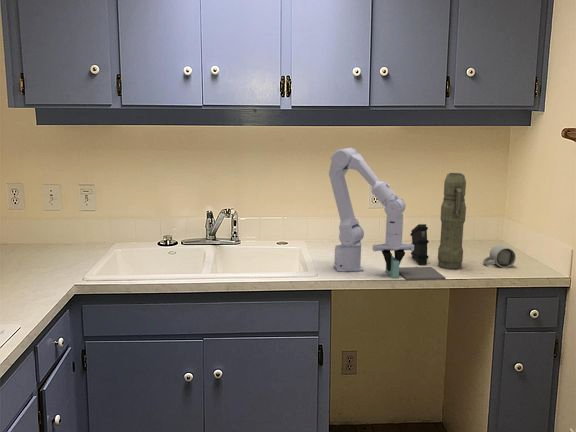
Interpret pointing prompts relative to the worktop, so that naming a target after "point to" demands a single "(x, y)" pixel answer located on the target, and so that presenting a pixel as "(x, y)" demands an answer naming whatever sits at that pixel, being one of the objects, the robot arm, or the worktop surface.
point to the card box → (394, 268)
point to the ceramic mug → (500, 257)
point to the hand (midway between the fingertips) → (392, 270)
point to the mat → (420, 273)
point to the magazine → (420, 244)
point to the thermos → (452, 222)
